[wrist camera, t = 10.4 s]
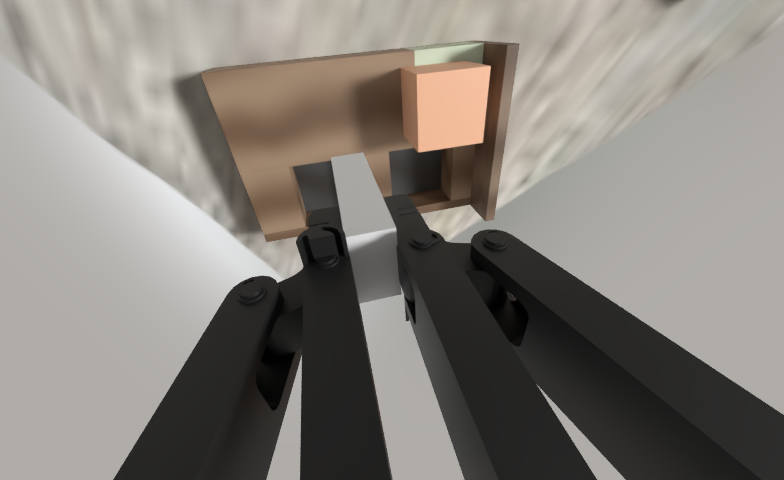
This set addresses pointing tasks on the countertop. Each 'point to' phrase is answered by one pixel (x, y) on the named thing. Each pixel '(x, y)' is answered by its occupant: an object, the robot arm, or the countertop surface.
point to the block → (444, 104)
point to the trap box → (353, 131)
